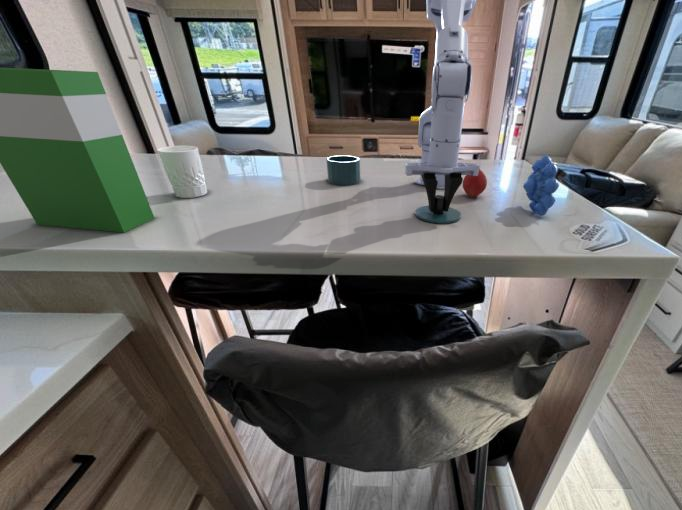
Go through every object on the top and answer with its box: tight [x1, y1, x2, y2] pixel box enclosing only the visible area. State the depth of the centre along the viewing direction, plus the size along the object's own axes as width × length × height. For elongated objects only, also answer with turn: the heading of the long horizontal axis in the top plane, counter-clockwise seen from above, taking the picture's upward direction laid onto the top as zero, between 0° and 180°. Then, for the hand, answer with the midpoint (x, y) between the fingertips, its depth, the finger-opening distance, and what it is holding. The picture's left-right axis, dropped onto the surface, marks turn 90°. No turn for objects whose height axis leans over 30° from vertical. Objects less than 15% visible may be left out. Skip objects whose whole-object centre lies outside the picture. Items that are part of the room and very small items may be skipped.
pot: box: [326, 155, 361, 186], centre depth 92 cm, size 9×9×6 cm
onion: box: [462, 165, 488, 198], centre depth 82 cm, size 6×6×8 cm
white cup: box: [156, 145, 208, 199], centre depth 77 cm, size 8×8×10 cm
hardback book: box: [0, 67, 155, 233], centre depth 57 cm, size 18×7×24 cm, turn 82°
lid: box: [414, 194, 462, 224], centre depth 70 cm, size 10×10×4 cm
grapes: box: [522, 155, 560, 217], centre depth 74 cm, size 12×7×12 cm, turn 4°
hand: (438, 210), depth 71 cm, fingers closed on lid, 2 cm apart
